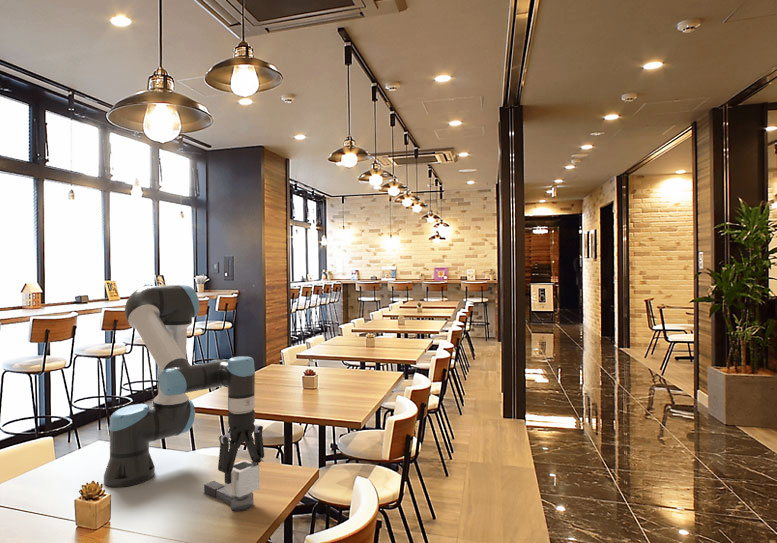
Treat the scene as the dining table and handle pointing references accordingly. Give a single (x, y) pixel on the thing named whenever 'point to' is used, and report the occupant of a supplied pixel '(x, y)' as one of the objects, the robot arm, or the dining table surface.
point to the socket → (245, 477)
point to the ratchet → (229, 496)
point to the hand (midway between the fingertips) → (242, 488)
